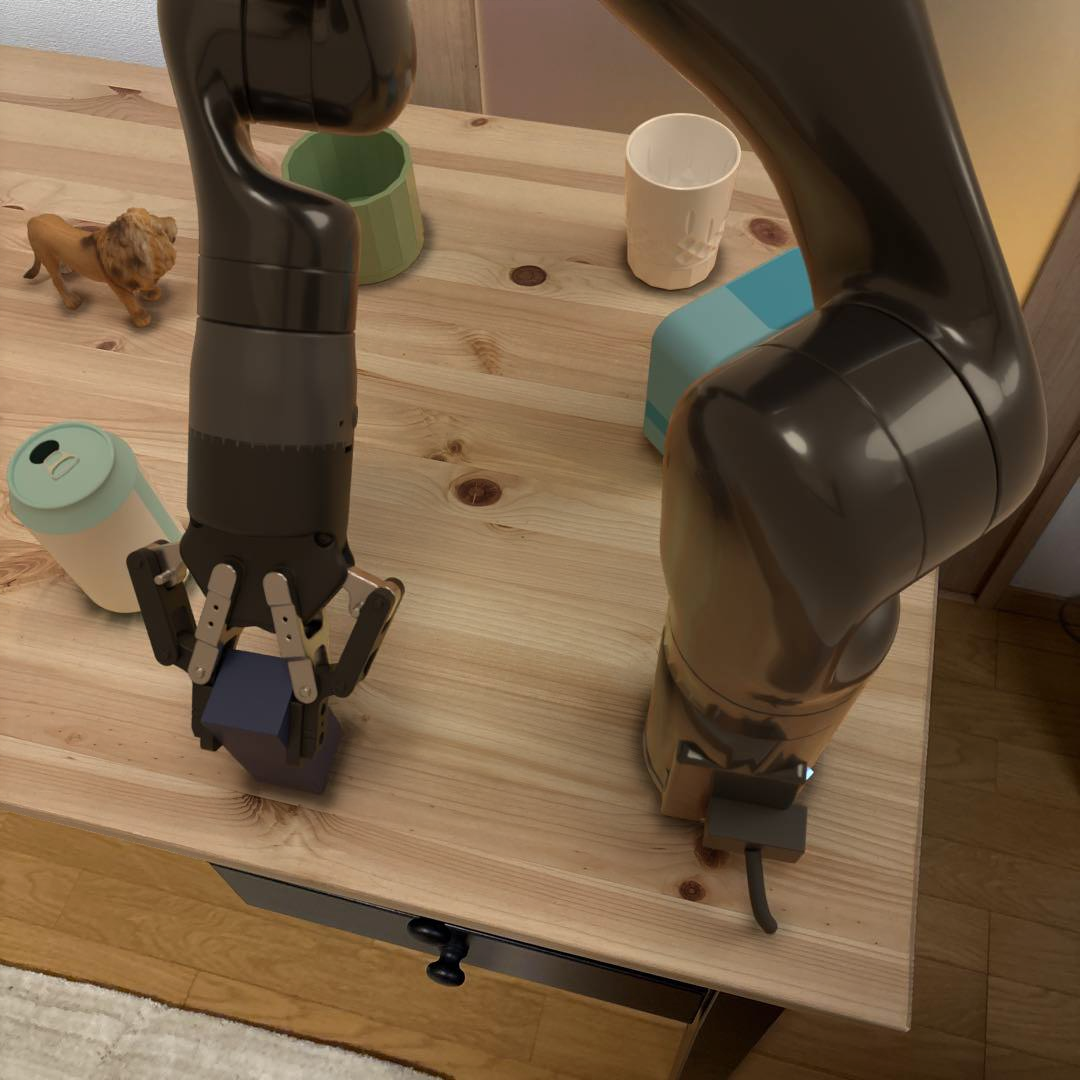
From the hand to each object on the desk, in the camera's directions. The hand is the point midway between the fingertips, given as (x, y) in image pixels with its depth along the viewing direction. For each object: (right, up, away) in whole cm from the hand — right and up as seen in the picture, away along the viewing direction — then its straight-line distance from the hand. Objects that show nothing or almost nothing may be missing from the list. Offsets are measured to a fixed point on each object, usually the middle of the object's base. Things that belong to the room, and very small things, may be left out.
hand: (258, 750), depth 51 cm
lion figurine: (-18, +30, +26) cm, 43 cm away
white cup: (+25, +32, +26) cm, 48 cm away
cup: (+1, +34, +28) cm, 44 cm away
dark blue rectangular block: (+1, -2, +7) cm, 7 cm away
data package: (+28, +19, +18) cm, 38 cm away
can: (-11, +9, +13) cm, 20 cm away
